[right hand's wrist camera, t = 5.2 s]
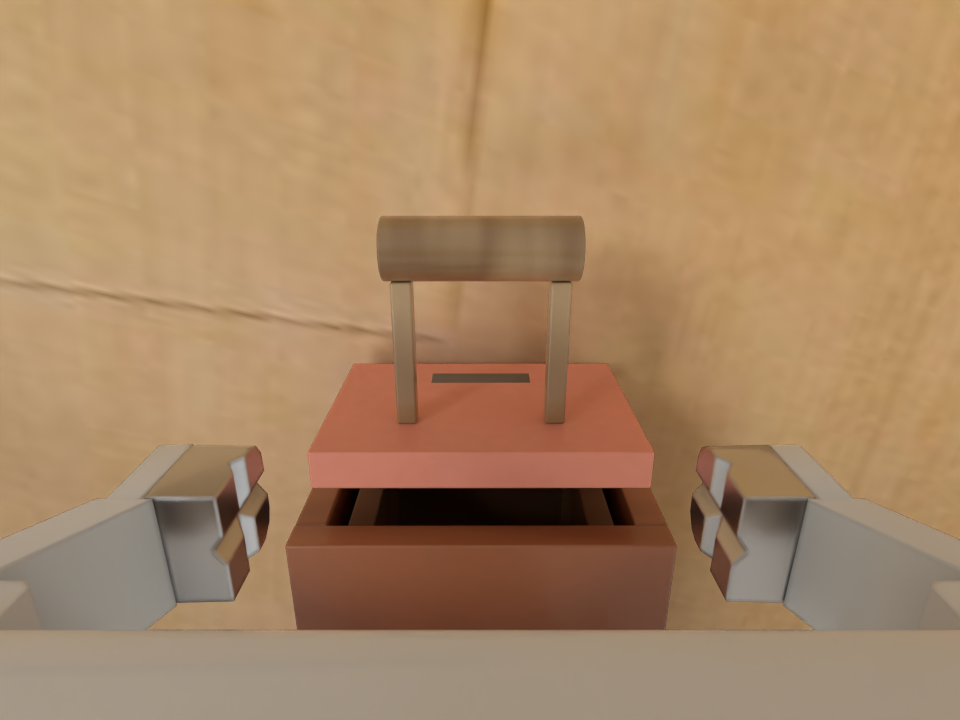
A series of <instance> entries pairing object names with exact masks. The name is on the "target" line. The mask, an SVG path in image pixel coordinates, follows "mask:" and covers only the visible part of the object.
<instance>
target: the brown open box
mask: <svg viewBox="0 0 960 720" xmlns="http://www.w3.org/2000/svg"><path fill="white" fill-rule="evenodd" d="M359 490H360V488H312V490H311V492H310V494H309V497H308V499H307V501H306V503H305V505H304V508H303V510H302V512H301V514H300V516H299V519H298V521H297V523H296V526H295V527H294V529H293V531H292V533H291V535H290V537H289V540H288V542H287V544H286V554H287V561H288V568H289V575H290V582H291V589H292V596H293V603H294V610H295V617H296V624H297V630H665V626H666V619H667V612H668V605H669V598H670V591H671V584H672V577H673V570H674V563H675V556H676V549H677V545H676V543H675V541H674V539H673V537H672V534H671V532H670V530H669V528H668V526H667V523H666V521H665V519H664V517H663V515H662V513H661V510H660V508H659V506H658V504H657V502H656V500H655V497H654V495H653V493H652V491H651V489H650V488H602V491H603V494H604V497H605V500H606V503H607V506H608V509H609V512H610V515H611V518H612V521H613V524H614V526H348V524H349V521H350V518H351V515H352V512H353V509H354V506H355V503H356V500H357V497H358V494H359Z"/></svg>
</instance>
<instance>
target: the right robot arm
mask: <svg viewBox="0 0 960 720" xmlns="http://www.w3.org/2000/svg"><path fill="white" fill-rule="evenodd" d="M263 471H264V467H263V462H262V456H261V452H260V451H259V450H258V448H257V447H256V446H226V445H193V444H184V445H162V446H158V447H157V448H156V449H155V450H154V451H153V452H152V453H151V454H150V455H149V456H148V457H147V458H146V459H145V460H144V461H143V462H142V463H141V464H140V465H139V466H138V467H137V468H136V469H135V470H134V471H133V472H132V473H131V474H130V475H129V476H128V477H127V478H126V479H125V480H124V481H123V482H122V483H121V484H120V485H119V486H118V487H117V488H116V489H115V490H114V491H113V492H112V493H111V494H110V495H109V496H108V497H107V498H106V499H94V500H92V501H89V502H87V503H85V504H82V505H80V506H78V507H75V508H73V509H71V510H68V511H66V512H64V513H61V514H59V515H57V516H54V517H52V518H50V519H47V520H45V521H43V522H40V523H38V524H36V525H33V526H31V527H28V528H26V529H24V530H21V531H19V532H17V533H14V534H12V535H10V536H7V537H5V538H3V539H0V720H960V540H959V539H957V538H955V537H952V536H950V535H948V534H945V533H943V532H941V531H938V530H936V529H934V528H931V527H929V526H927V525H924V524H922V523H920V522H917V521H915V520H913V519H910V518H908V517H906V516H903V515H901V514H899V513H896V512H894V511H892V510H889V509H887V508H885V507H882V506H880V505H878V504H875V503H873V502H871V501H868V500H866V499H854V498H853V497H852V496H851V495H850V494H849V493H848V492H847V491H846V490H845V489H844V488H843V487H842V486H841V485H840V484H839V483H838V482H837V481H836V480H835V479H834V478H833V477H832V476H831V475H830V474H829V473H828V472H827V471H826V470H825V469H824V468H823V467H822V466H821V465H820V464H819V463H818V462H817V461H816V460H815V459H814V458H813V457H812V456H811V455H810V454H809V453H808V452H807V451H806V450H805V449H804V448H803V447H802V446H799V445H796V444H786V445H744V446H708V447H702V449H701V451H700V453H699V456H698V461H697V467H696V471H697V473H698V474H699V476H700V478H701V479H702V481H703V483H702V484H701V485H700V486H699V487H698V488H697V489H696V490H695V492H694V493H693V494H692V502H691V511H690V513H691V525H692V531H693V534H694V538H695V541H696V543H697V545H698V547H699V549H700V551H701V552H703V553H704V554H706V555H707V556H709V557H710V558H712V563H711V569H710V571H711V573H712V575H713V577H714V578H715V580H716V582H717V584H718V586H719V588H720V590H721V592H722V594H723V596H724V598H725V600H726V601H737V602H774V603H784V604H783V605H784V606H785V607H786V608H787V609H789V610H790V611H791V612H793V613H794V614H795V615H796V616H798V617H799V618H800V619H802V620H803V621H804V622H805V623H807V624H808V625H809V626H810V627H812V628H813V629H814V630H146V629H147V628H149V627H150V626H151V625H152V624H154V623H155V622H156V621H158V620H159V619H160V618H161V617H163V616H164V615H165V614H166V613H168V612H169V611H170V610H172V609H173V608H174V607H175V606H176V603H186V602H222V601H234V600H235V598H236V596H237V594H238V592H239V590H240V588H241V586H242V584H243V583H244V581H245V579H246V577H247V575H248V573H249V571H250V568H249V562H248V558H250V557H251V556H253V555H254V554H256V553H257V552H259V551H260V549H261V547H262V545H263V543H264V541H265V539H266V535H267V530H268V525H269V500H268V494H267V493H266V491H265V490H264V489H263V488H262V487H261V486H260V485H259V484H258V483H257V481H258V480H259V478H260V476H261V475H262V473H263Z"/></svg>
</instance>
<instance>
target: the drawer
mask: <svg viewBox="0 0 960 720" xmlns="http://www.w3.org/2000/svg"><path fill="white" fill-rule="evenodd" d="M377 260H378V268H379V273H380V277H381V279H382V280H383V281H391V283H390V298H391V316H392V333H393V351H394V364H353V366H352V368H351V370H350V372H349V374H348V376H347V378H346V380H345V382H344V384H343V386H342V387H341V389H340V391H339V393H338V395H337V397H336V399H335V401H334V403H333V405H332V407H331V409H330V411H329V413H328V415H327V416H326V418H325V420H324V422H323V424H322V426H321V428H320V430H319V432H318V434H317V436H316V438H315V440H314V442H313V444H312V445H311V447H310V449H309V451H308V462H309V471H310V479H311V486H312V488H360V490H359V494H358V497H357V500H356V503H355V506H354V509H353V512H352V515H351V518H350V521H349V524H348V526H614V524H613V521H612V518H611V515H610V512H609V509H608V506H607V503H606V500H605V497H604V494H603V491H602V488H650V486H651V480H652V472H653V464H654V455H655V453H654V451H653V449H652V447H651V445H650V443H649V441H648V439H647V437H646V435H645V434H644V432H643V430H642V428H641V426H640V424H639V422H638V420H637V418H636V416H635V415H634V413H633V411H632V409H631V407H630V405H629V403H628V401H627V399H626V397H625V396H624V394H623V392H622V390H621V388H620V386H619V384H618V382H617V380H616V378H615V377H614V375H613V373H612V371H611V369H610V367H609V365H608V364H568V351H569V333H570V315H571V297H572V283H571V281H579V280H580V279H581V277H582V273H583V269H584V261H585V227H584V222H583V219H582V217H581V216H382V217H380V219H379V222H378V228H377ZM413 281H549V294H548V318H547V342H546V364H416V344H415V320H414V296H413Z"/></svg>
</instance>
